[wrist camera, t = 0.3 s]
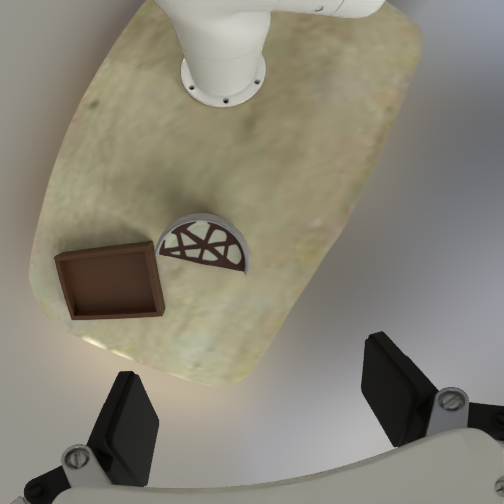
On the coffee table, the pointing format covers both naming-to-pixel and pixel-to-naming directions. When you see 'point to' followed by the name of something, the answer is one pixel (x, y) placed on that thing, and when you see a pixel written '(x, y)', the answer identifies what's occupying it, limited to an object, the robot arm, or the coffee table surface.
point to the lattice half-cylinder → (205, 242)
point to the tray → (111, 282)
